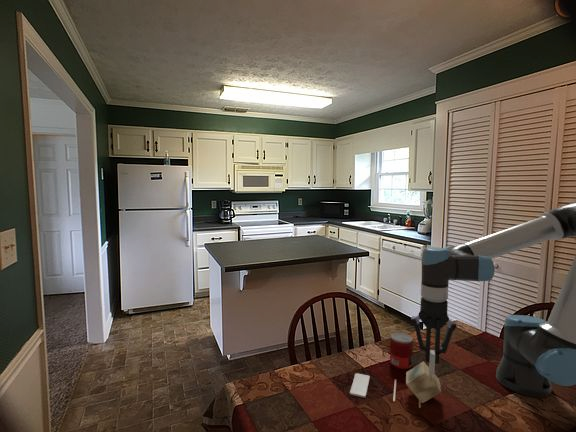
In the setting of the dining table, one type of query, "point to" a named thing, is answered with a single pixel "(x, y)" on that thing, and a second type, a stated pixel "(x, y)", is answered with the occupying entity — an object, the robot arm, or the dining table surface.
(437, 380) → the tan cube
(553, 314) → the robot arm
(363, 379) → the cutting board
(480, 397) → the dining table surface
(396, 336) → the canned food
